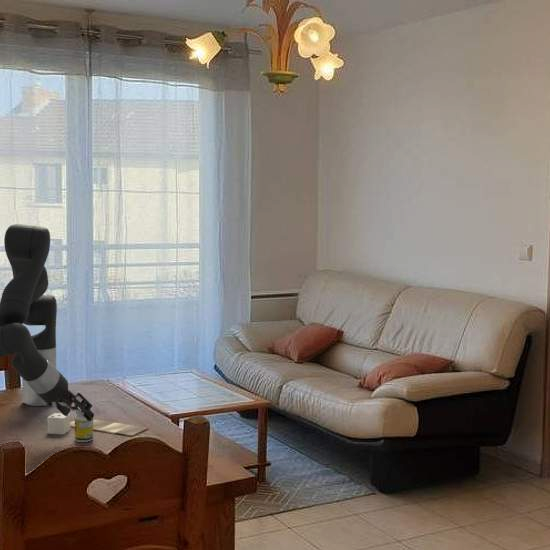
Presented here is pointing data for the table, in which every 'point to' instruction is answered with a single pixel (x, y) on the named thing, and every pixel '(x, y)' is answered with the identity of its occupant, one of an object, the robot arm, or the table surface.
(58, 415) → the die
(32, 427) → the table surface
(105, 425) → the track
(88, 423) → the supplement bottle
